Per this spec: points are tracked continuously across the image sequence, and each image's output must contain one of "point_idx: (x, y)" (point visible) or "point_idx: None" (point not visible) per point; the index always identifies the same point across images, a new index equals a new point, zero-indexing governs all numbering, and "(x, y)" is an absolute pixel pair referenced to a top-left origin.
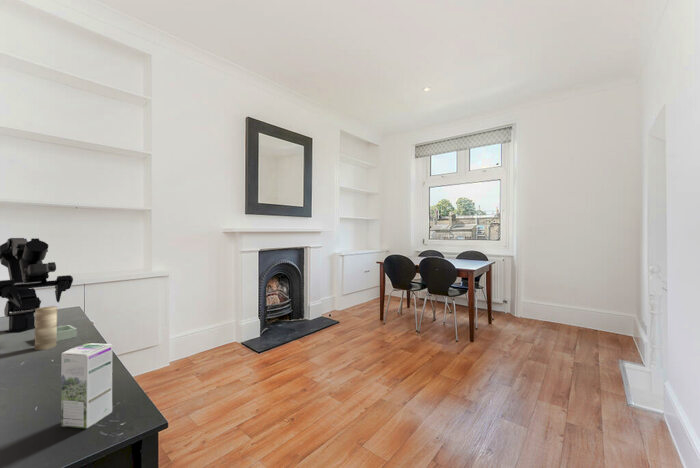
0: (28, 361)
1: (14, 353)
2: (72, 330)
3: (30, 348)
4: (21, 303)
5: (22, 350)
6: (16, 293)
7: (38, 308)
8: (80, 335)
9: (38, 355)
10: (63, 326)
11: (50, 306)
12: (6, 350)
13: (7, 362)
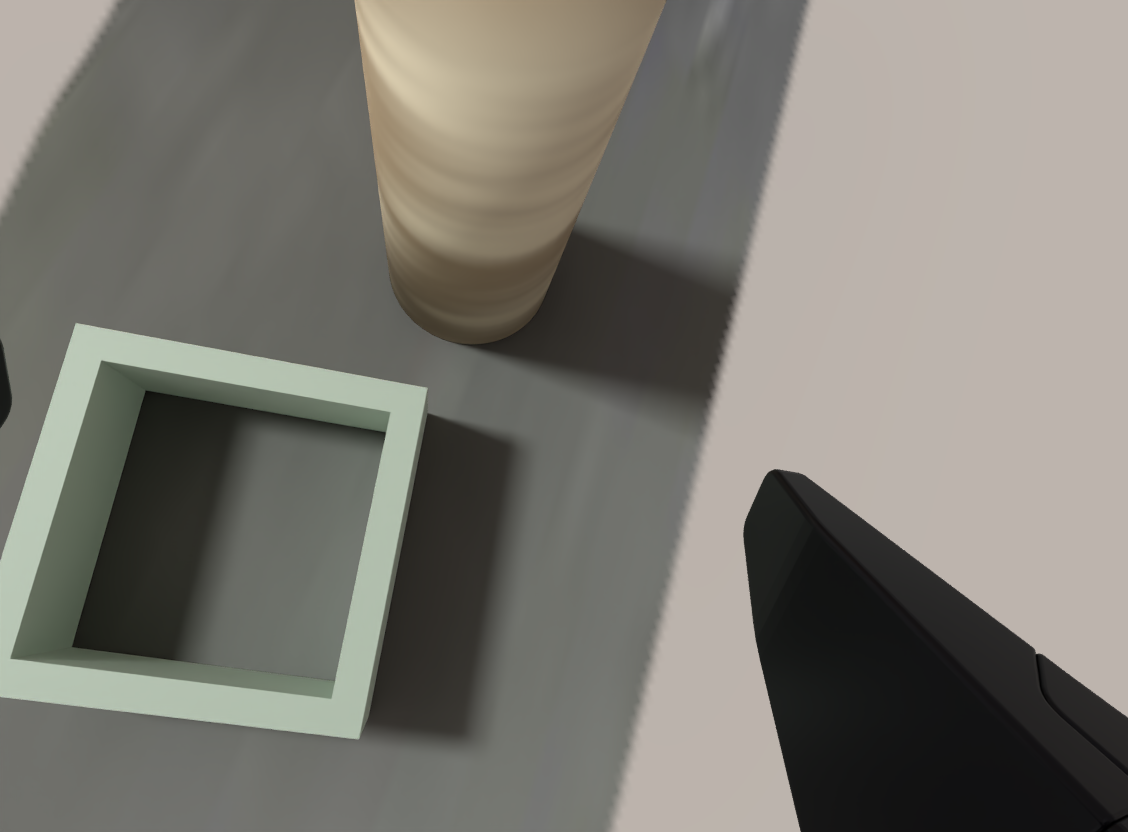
0: (685, 11)
1: (673, 335)
2: (134, 338)
3: (551, 368)
4: (794, 492)
5: (609, 369)
6: (1115, 772)
7: (611, 17)
8: None
9: None
10: (62, 665)
11: (398, 7)
12: (679, 517)
13: (767, 132)
